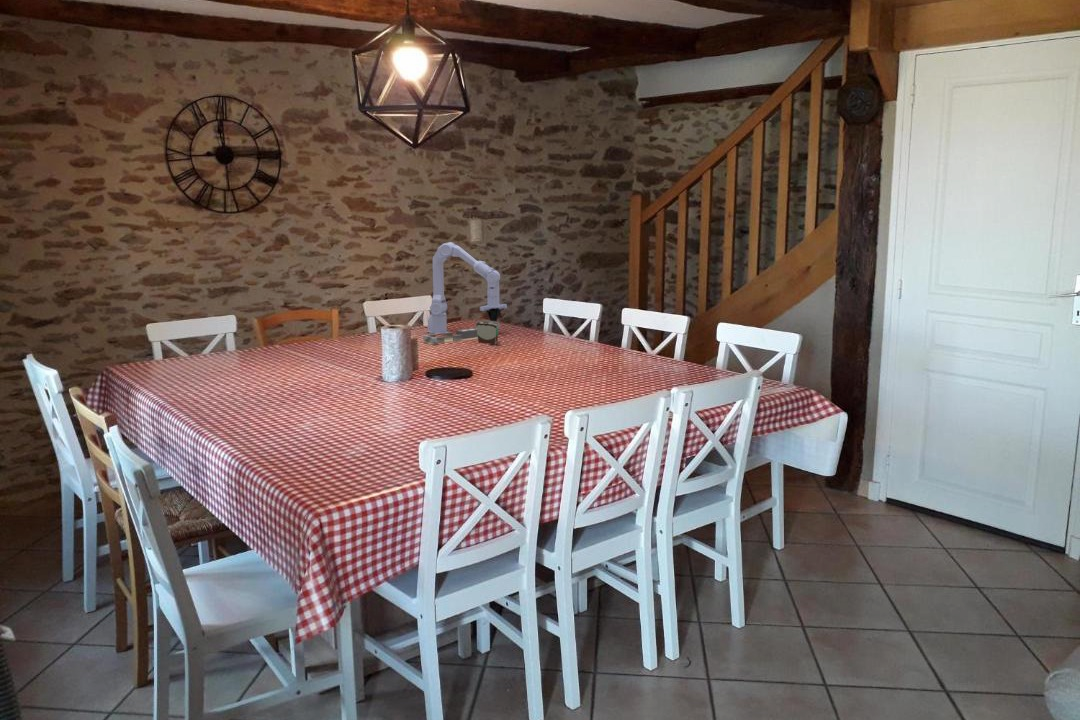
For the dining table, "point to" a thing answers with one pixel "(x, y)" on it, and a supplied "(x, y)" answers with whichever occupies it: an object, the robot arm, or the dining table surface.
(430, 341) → the mount
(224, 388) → the dining table surface
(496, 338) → the food container
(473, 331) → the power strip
